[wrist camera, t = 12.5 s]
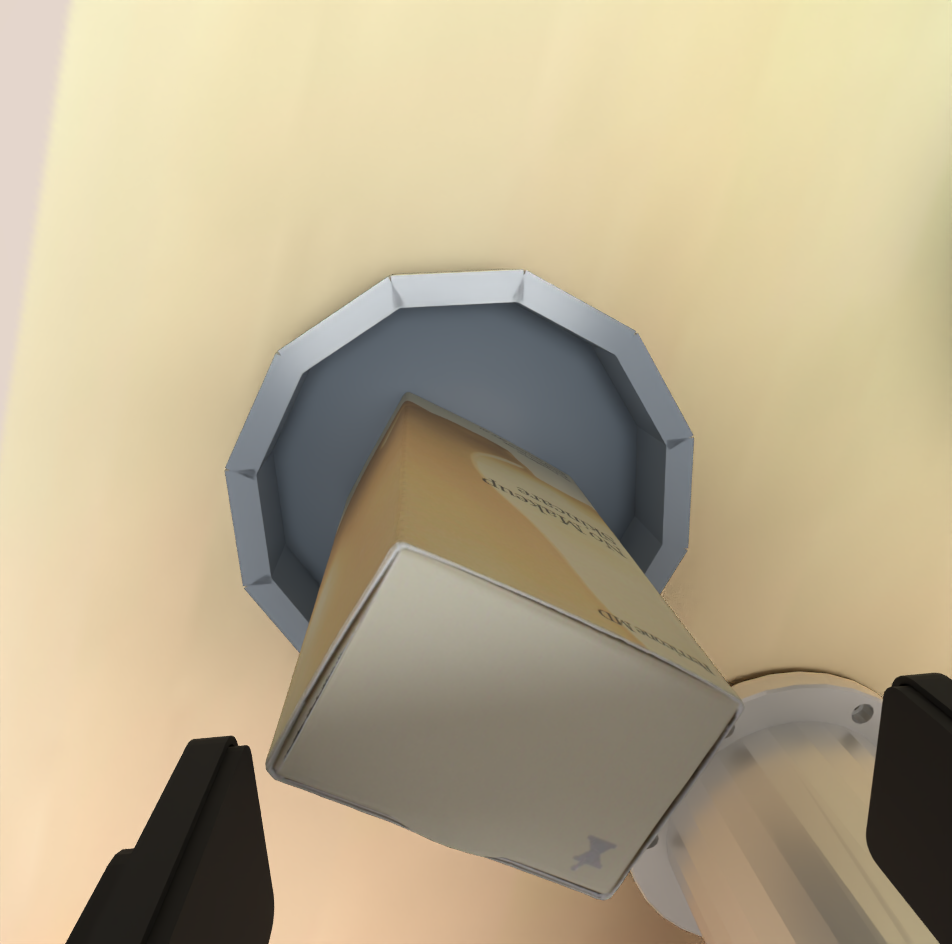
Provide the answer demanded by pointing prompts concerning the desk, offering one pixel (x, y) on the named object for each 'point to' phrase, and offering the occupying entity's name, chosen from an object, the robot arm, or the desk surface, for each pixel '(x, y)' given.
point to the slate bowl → (465, 394)
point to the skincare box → (496, 664)
